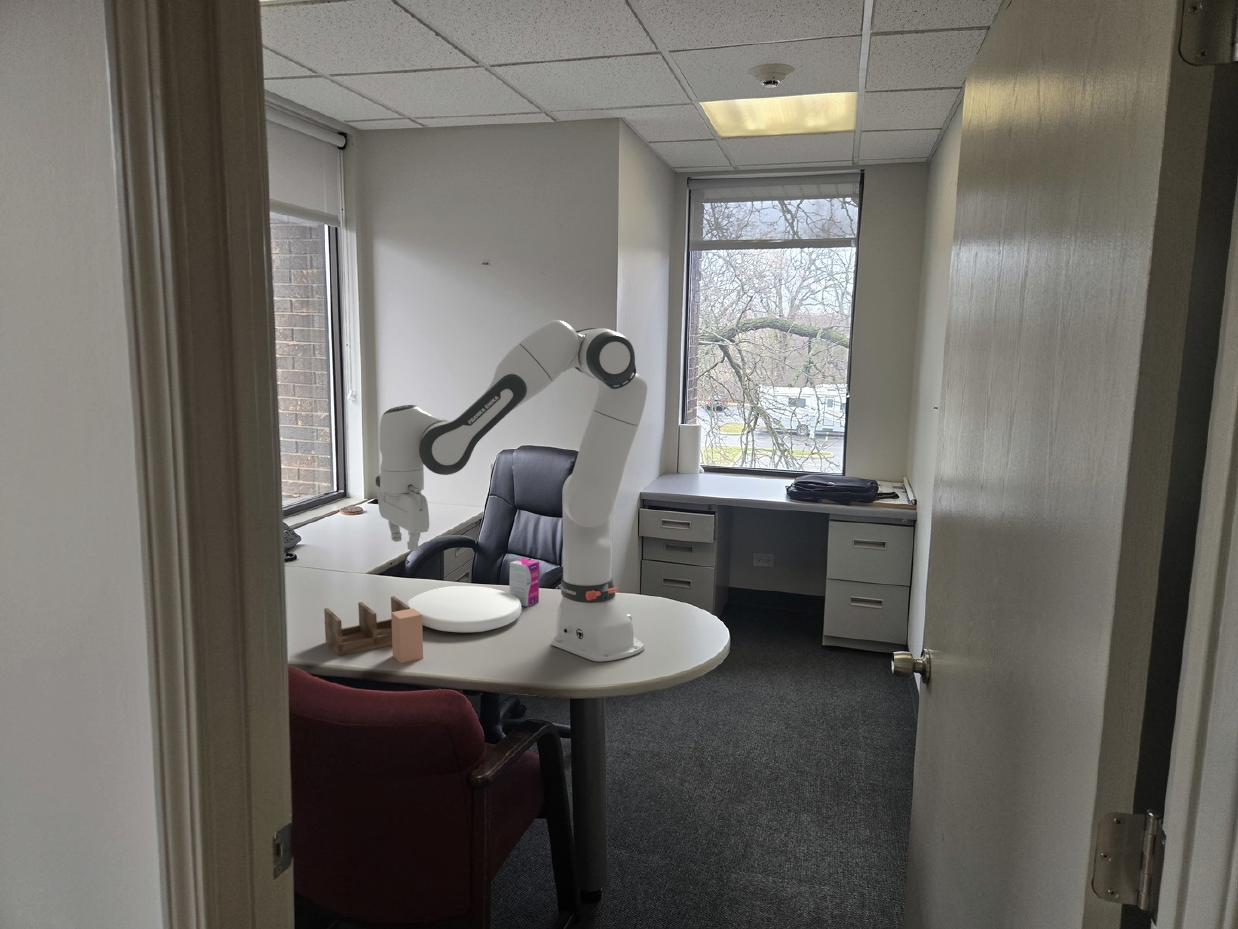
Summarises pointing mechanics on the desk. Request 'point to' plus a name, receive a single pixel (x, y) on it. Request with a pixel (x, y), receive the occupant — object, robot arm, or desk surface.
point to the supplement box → (525, 581)
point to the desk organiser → (360, 630)
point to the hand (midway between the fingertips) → (404, 545)
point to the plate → (466, 608)
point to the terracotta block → (407, 635)
